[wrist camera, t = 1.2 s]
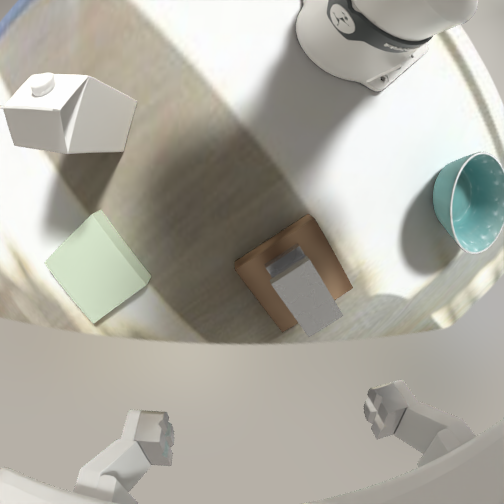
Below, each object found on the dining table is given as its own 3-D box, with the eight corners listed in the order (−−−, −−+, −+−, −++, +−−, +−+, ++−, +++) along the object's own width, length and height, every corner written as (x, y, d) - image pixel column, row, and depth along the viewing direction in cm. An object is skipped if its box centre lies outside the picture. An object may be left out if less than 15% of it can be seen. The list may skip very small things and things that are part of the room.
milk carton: (124, 152, 34) (42, 156, 16) (80, 144, 33) (-13, 147, 15) (138, 101, 32) (67, 63, 14) (93, 95, 31) (7, 66, 13)
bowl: (486, 202, 40) (516, 212, 33) (440, 256, 43) (469, 274, 35) (456, 131, 36) (490, 132, 28) (402, 185, 38) (435, 194, 31)
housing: (297, 243, 37) (309, 259, 31) (328, 293, 40) (343, 315, 34) (264, 264, 37) (271, 284, 32) (298, 312, 40) (308, 337, 34)
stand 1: (100, 209, 36) (92, 214, 33) (151, 276, 40) (146, 285, 37) (53, 256, 37) (44, 262, 34) (100, 314, 41) (93, 324, 38)
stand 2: (308, 213, 39) (314, 218, 36) (345, 279, 42) (353, 287, 40) (234, 261, 40) (235, 270, 37) (279, 321, 44) (282, 332, 41)
